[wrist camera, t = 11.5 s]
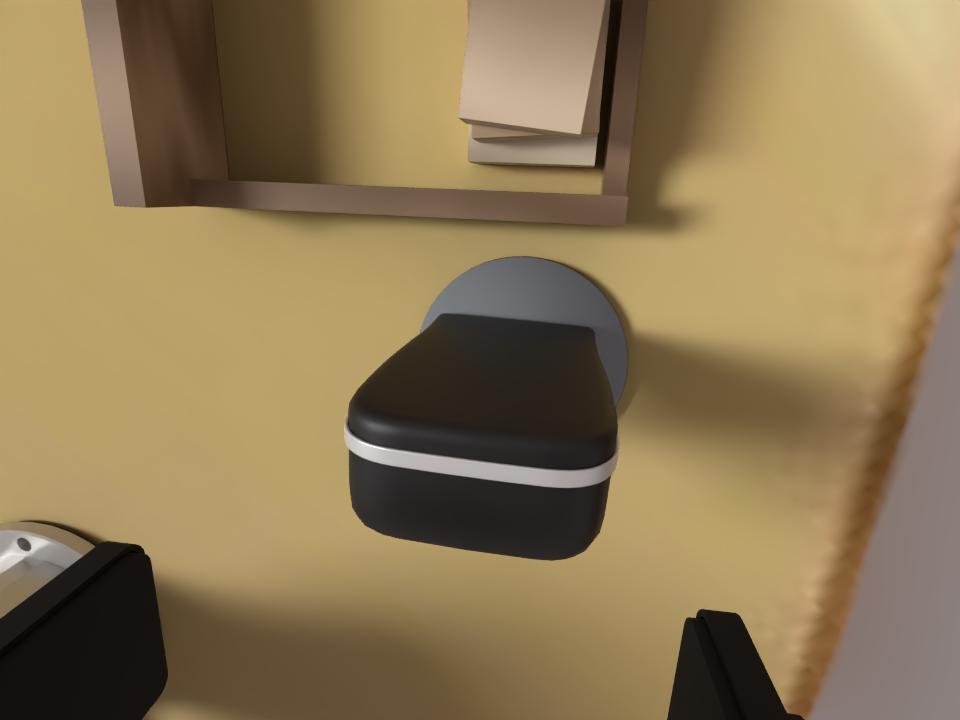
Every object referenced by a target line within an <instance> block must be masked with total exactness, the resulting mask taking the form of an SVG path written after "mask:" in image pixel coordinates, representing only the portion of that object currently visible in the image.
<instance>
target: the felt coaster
mask: <svg viewBox="0 0 960 720" xmlns="http://www.w3.org/2000/svg"><path fill="white" fill-rule="evenodd" d="M442 313H451V314H462V315H473V316H484V317H494V318H505V319H515V320H525V321H535V322H545V323H555V324H565V325H574V326H584V327H589V328H591V329H593V330H594V332H595V341H596V346H597V351H598V354H599V357H600V359H601V361H602V364H603V366H604V369H605V372H606V374H607V377H608V380H609V383H610V386H611V390H612V394H613V398H614V403H615V408H616V406H617V404H618V402H619V400H620V398H621V395H622V392H623V389H624V386H625V382H626V377H627V369H628V353H627V344H626V340H625V335H624V331H623V329H622V326H621V324H620V321H619V318H618V316H617V314H616V313H615V311H614V309H613V307H612V305H611V304H610V303H609V301H608V300H607V299H606V297H605V296H604V295H603V293H602V292H601V291H600V290H599V289H598V288H597V287H596V286H595V285H594V284H593V283H592V282H590V281H589V280H588V279H586V278H585V277H584V276H582V275H581V274H579V273H578V272H576V271H574V270H572V269H571V268H569V267H567V266H564V265H562V264H559V263H557V262H554V261H550V260H546V259H542V258H535V257H527V256H523V257H506V258H499V259H495V260H492V261H488V262H485V263H483V264H480V265H478V266H476V267H473V268H471V269H470V270H468V271H467V272H465V273H463V274H462V275H460V276H459V277H458V278H456V279H455V280H454V281H453V282H451V283H450V284H449V285H448V286H447V287H446V288H445V289H444V290H443V291H442V292H441V293H440V294H439V296H438V297H437V298H436V300H435V301H434V303H433V304H432V305H431V307H430V309H429V311H428V313H427V315H426V317H425V319H424V322H423V325H422V328H421V331H420V333H422V332H423V331H424V330H425V329H426V328H427V327H428V326H429V325H430V324H431V323H432V322H434V320H435V319H436V318H437V317H438V316H439V315H440V314H442Z"/></svg>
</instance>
